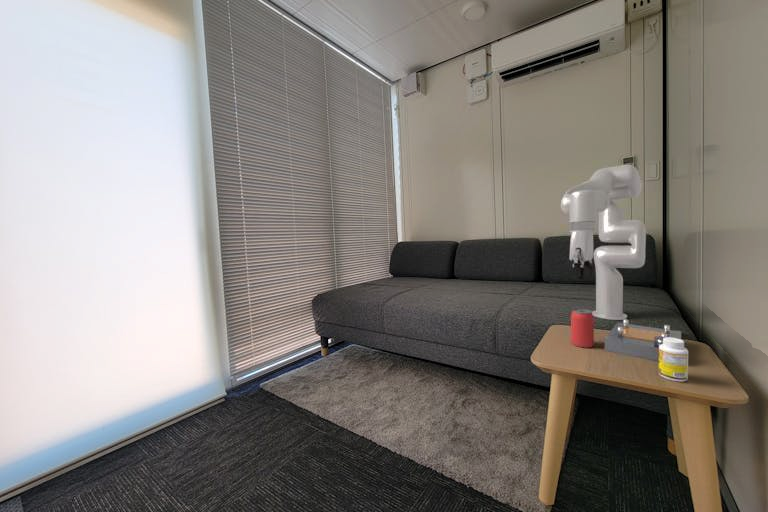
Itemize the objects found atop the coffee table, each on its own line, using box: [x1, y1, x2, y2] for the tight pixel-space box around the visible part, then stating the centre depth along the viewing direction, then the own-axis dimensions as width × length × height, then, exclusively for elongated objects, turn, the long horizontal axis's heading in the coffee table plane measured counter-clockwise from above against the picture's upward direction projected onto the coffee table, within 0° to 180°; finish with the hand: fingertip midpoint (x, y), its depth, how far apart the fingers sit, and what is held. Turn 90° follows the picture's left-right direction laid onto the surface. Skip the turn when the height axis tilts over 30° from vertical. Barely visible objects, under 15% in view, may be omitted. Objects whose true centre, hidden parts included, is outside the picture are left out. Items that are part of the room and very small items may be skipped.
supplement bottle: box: [658, 337, 689, 382], centre depth 78 cm, size 6×6×10 cm
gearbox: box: [604, 319, 682, 362], centre depth 99 cm, size 25×17×7 cm
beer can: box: [570, 308, 595, 349], centre depth 102 cm, size 7×7×12 cm
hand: (582, 277), depth 101 cm, fingers open, 9 cm apart
